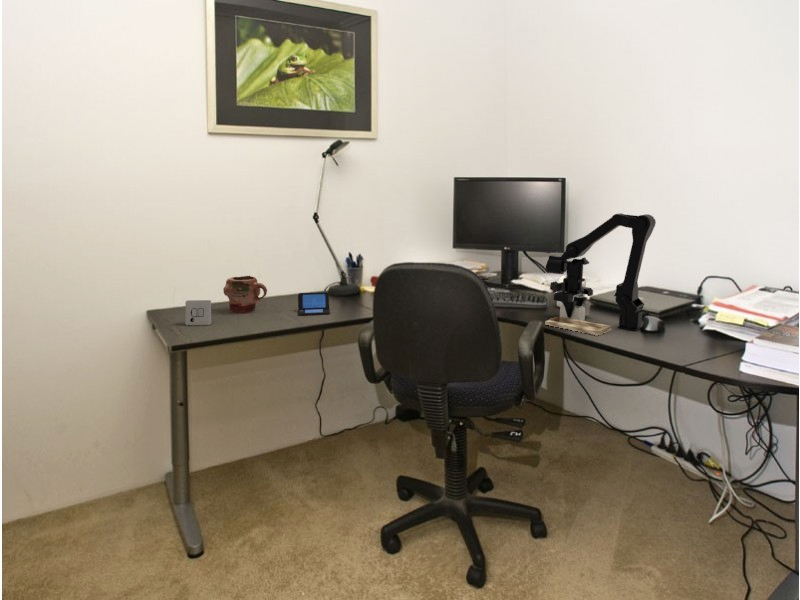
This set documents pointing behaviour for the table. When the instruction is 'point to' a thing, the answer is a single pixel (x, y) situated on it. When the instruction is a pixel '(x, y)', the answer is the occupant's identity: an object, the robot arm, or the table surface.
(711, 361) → the table surface
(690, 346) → the table surface
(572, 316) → the white rectangular block
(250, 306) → the reddish brown mug
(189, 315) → the electrical switch
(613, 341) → the table surface
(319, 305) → the handheld game console
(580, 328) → the board
